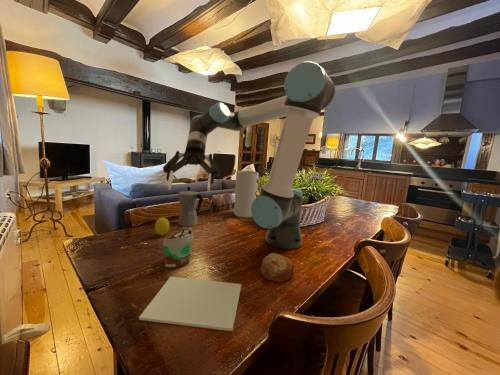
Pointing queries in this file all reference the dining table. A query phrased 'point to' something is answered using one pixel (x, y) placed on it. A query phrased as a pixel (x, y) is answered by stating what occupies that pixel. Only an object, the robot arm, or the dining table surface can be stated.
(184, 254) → the food container
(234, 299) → the mat
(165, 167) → the robot arm
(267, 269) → the bread roll
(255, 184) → the cylinder vase
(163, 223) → the lemon
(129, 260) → the dining table surface
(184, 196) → the coffeepot
